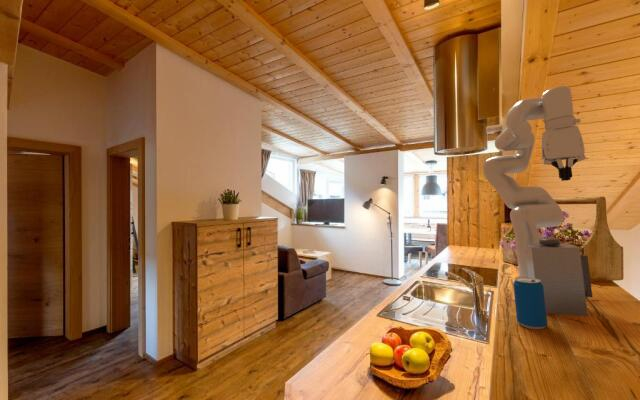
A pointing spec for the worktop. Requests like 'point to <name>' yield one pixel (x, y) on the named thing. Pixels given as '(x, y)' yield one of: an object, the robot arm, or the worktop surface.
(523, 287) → the beverage can
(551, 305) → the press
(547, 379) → the worktop surface
